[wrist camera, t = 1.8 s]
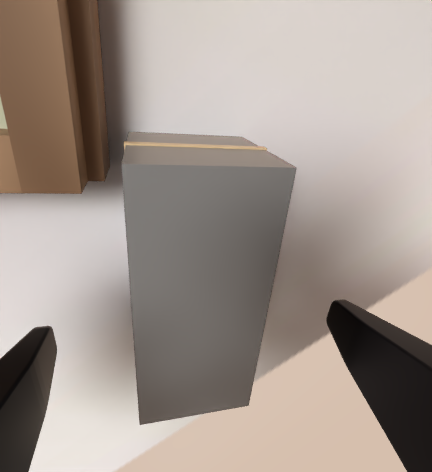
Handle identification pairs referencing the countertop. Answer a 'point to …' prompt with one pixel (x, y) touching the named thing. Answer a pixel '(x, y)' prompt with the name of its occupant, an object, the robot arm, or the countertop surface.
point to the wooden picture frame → (51, 97)
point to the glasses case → (200, 266)
